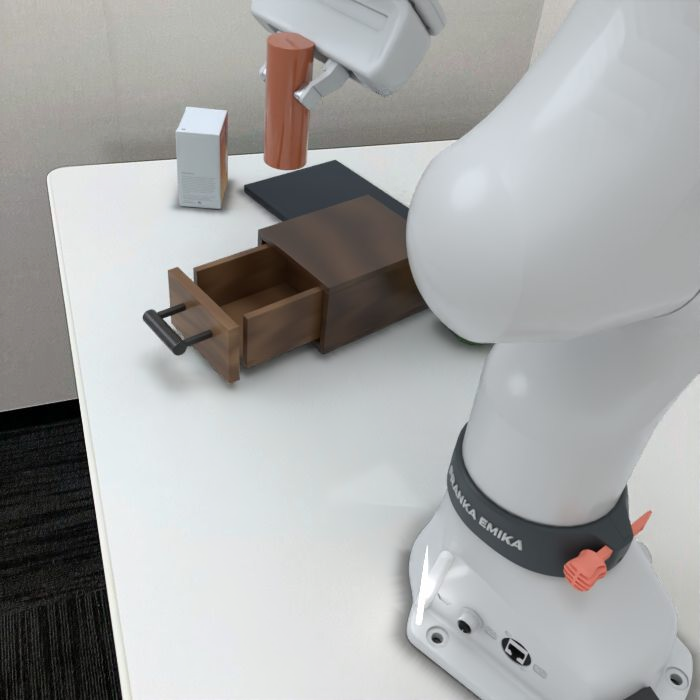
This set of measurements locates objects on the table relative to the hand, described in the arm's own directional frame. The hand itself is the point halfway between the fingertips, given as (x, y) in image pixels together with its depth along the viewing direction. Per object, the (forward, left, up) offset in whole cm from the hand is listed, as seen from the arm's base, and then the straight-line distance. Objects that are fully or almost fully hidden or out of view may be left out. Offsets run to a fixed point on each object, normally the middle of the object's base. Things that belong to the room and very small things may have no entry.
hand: (283, 92), depth 74 cm
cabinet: (-5, -6, -24) cm, 25 cm away
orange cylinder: (0, -1, -7) cm, 7 cm away
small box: (+24, -5, -24) cm, 34 cm away
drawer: (-5, +8, -23) cm, 25 cm away
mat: (+12, -18, -24) cm, 32 cm away
